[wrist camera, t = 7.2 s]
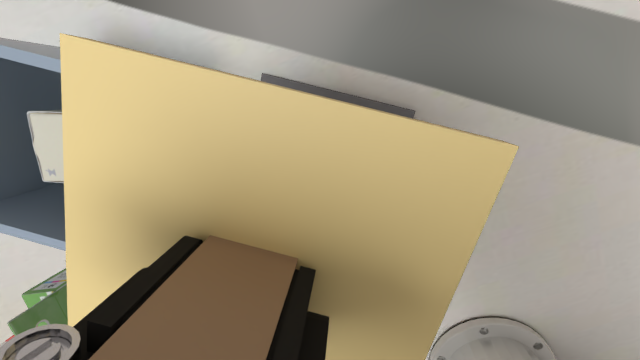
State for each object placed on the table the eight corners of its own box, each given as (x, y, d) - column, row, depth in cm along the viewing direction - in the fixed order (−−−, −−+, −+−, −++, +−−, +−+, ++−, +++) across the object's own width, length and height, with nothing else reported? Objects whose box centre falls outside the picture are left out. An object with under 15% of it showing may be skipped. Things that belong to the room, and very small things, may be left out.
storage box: (220, 83, 28) (129, 77, 17) (205, 204, 32) (120, 266, 21) (96, 52, 29) (-75, 26, 17) (94, 174, 33) (-48, 219, 21)
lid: (502, 140, 9) (746, 224, 3) (377, 435, 13) (396, 701, 7) (88, 38, 10) (-300, -37, 4) (89, 354, 14) (-104, 547, 8)
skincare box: (177, 158, 31) (97, 187, 21) (137, 157, 31) (40, 185, 22) (171, 105, 30) (82, 112, 20) (129, 105, 30) (22, 110, 20)
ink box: (109, 240, 35) (-35, 326, 22) (140, 235, 34) (9, 321, 21) (132, 292, 36) (10, 401, 24) (161, 289, 36) (52, 398, 23)
